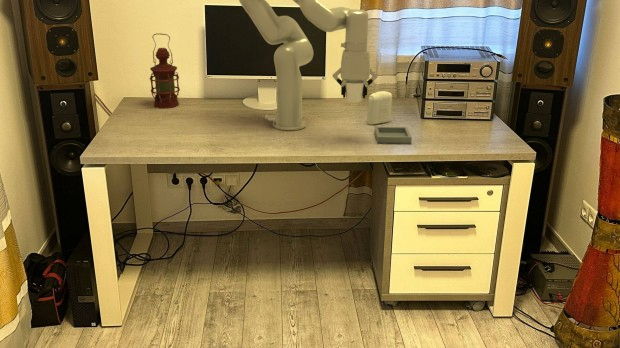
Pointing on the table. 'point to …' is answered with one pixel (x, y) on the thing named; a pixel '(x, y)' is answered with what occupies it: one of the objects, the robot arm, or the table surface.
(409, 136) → the parts tray
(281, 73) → the robot arm
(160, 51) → the lantern
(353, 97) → the white cylinder
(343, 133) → the table surface
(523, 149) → the table surface
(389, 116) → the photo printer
